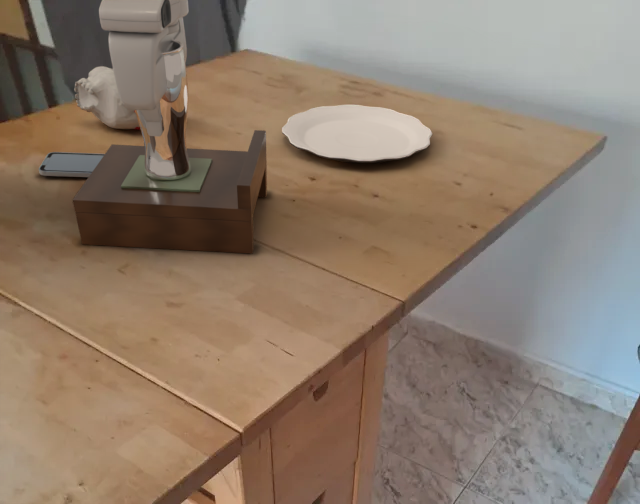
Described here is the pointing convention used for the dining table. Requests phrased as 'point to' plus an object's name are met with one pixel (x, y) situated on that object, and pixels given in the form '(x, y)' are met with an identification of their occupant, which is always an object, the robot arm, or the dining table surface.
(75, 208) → the shelf
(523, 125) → the dining table surface
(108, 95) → the white irregular lump
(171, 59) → the beer glass
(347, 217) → the dining table surface
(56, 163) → the smartphone
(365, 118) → the plate
